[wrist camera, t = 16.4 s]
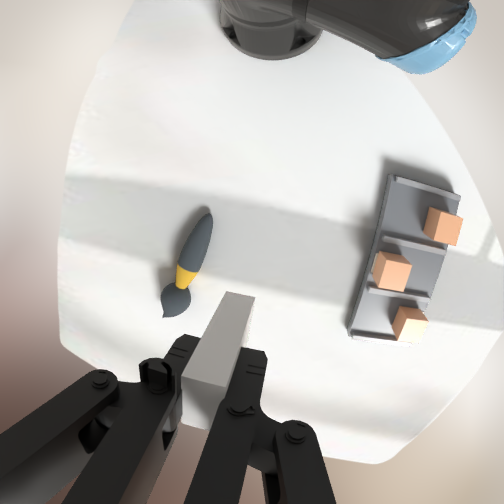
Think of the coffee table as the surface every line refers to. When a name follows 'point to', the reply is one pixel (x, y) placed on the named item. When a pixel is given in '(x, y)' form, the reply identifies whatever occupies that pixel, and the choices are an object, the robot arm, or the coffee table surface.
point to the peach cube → (391, 271)
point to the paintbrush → (187, 269)
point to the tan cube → (409, 324)
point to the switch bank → (408, 245)
